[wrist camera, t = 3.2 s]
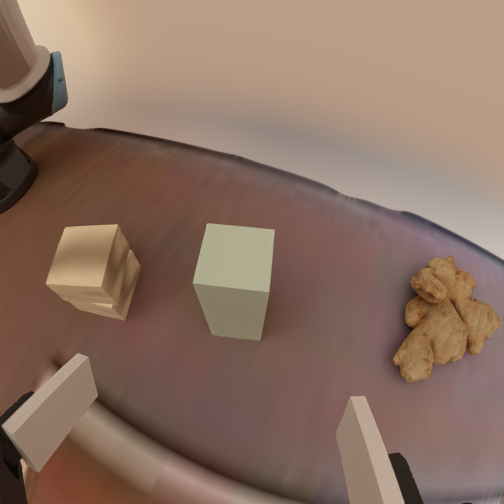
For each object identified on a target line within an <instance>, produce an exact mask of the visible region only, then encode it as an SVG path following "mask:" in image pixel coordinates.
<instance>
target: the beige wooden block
mask: <svg viewBox="0 0 504 504" xmlns="http://www.w3.org/2000/svg"><path fill="white" fill-rule="evenodd" d="M141 268H142V267H141V265H140V264H139V262H138V260H137V258H136V257H135V255H134V253H133V251H132V250H129V253H128V257H127V262H126V266H125V271H124V276H123V280H122V285H121V290H120V296H119V301H118V305H112V304H97V303H84V302H72V301H69V302H70V303H71V304H72V305H74V306H75V307H76V308H77V309H79V310H83V311H87V312H91V313H95V314H99V315H103V316H107V317H111V318H115V319H120V320H124V321H125V320H126V316H127V313H128V309H129V306H130V303H131V299H132V296H133V293H134V289H135V286H136V283H137V280H138V277H139V274H140V271H141Z"/></svg>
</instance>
